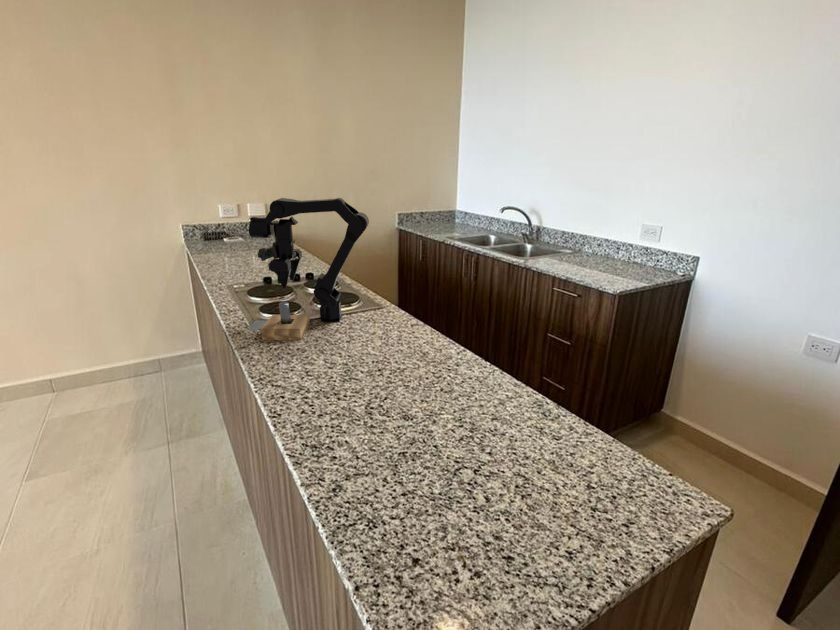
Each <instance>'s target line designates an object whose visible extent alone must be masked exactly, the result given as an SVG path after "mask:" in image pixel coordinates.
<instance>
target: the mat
mask: <svg viewBox="0 0 840 630" xmlns="http://www.w3.org/2000/svg"><path fill="white" fill-rule="evenodd" d="M267 321H268V320H263V319H262V320H257V319H255V320H254V321H253V323H251V325H250V326H249V327H248V328H247V330H254V331H255V330H256V331H257V330H258V331H259V330H260V331H261V328H262V327H263V326H264V324H265V323H266V322H267Z"/></svg>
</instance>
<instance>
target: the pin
mask: <svg viewBox="0 0 840 630" xmlns="http://www.w3.org/2000/svg"><path fill="white" fill-rule="evenodd" d="M278 307H279V315H280V318H281V324H291V319H290V315H291V312H290V303H289V302H287V301H282V302H279V304H278Z"/></svg>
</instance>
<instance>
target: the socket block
mask: <svg viewBox="0 0 840 630" xmlns="http://www.w3.org/2000/svg"><path fill="white" fill-rule="evenodd" d="M290 319H291V324H281V318H280V314H272V315H271V317H269V318H268V320H266V321H267V322H266V323H265V324H264V326H263V327H262V328H261V330H260V332H261V338H262V339H261V340H265V341H267V340H268V341H270V340H271V341H278V340H280V341H302V339H303V338H304V337H305V334H306V333H307V331H308V329H309V328H310V326H311V322H310V321H311V320H310V315H309V314H290Z"/></svg>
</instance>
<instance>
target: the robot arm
mask: <svg viewBox="0 0 840 630" xmlns="http://www.w3.org/2000/svg"><path fill="white" fill-rule="evenodd" d="M329 212H330V213H332V212H335V213H336V214H337V215H339V216H340V218H341V219H342V220H343V221H344V222H345V223H347V227H346V231H345V235H344V239H343V241H342V242H341V245H340V246H339V249H338V250H337V253H336V255H335V256H334V259H333V260H332V263H331V264H330V266H329V268H328V270H327V272H326V273H323V272H321V273H320V275H319V276H317V280H316V283H315V284H314V285H313V286H312V288H313V294H314V297H315V298H316V299H317V300H318V302H319V305H320V306H319V319H320V322H324V323H340V321H341V320H342V318H343V314H342V307H341V305H342V303H341V300H339V299H340V297H341V295H342V294H341V292H340V291H339V290H338V289H336V284H337V280H338V277H339V274H340V272H341V270H342V269H343V266H344V265H345V263H346V261H347V259H348V257H349V255H350V253H351V251H352V249H353V247H354V246H355V243H356V242H357V241H358V240H359V239H360V237H361V236H362V235H363V233H364V232H365V231H366V230H367V227H368V226H369V225H370V224H369V223H370V220H369V217H368V216H367V214H366V213H364V212H361V211H359V210H357V209H356V208H355V207H353V206H352V205H351V204H349V203H348V202H346V201H345V200H344V199H343V198H341V197H336V198H326V199H325V198H324V199H323V198H322V199H310V200H300V199H299V200H297V199H293V198H287V197H281V198H277V199H276V200H273V201H272V202H271V203H270V205H269V211H268V213H267V214H266V216H265V217H263V216H262V217H260V216H251V217H250V218H249V220H250V221H249V224H248V225H249V226H248V235H249V237H250V238H251V239H270V238H271V237H272V236H274V242H273V243H272V245H271V246H267V247H262V248H259V249H258V251H257V258H258V259H261V262H264V261H266V260H268V259H271V258H273V259H272V260H270V261H269V263H268V264H267V265H268V270H269V271H270V272H273V273H274V274H276V275H277V279H278V280H279V282H280V285H281V287H282V288H283V289H286V288H287V287H288V284H289V281H294V280H295V277H296V273H297V270H298V269H299V265H300V262H301V260H302V257H303V256H302V255H303V254H302V251H301V250H300V249H299V248H295V247H294V244H295V243H296V239H294V237H293V235H294V234H293V226H296V225H298V223H299V222H298V221H297V220H296V218H294V217H293V216H296V215H300V214H311V213H313V214H314V213H329ZM288 217H289V218H288ZM277 219H279V220H278V221H275V220H277Z"/></svg>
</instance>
